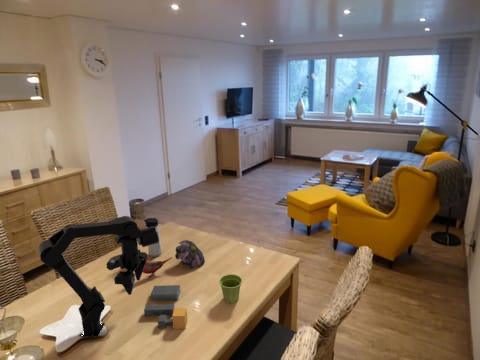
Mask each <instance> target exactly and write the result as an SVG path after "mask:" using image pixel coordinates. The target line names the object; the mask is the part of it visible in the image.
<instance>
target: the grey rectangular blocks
mask: <svg viewBox="0 0 480 360" xmlns="http://www.w3.org/2000/svg"><path fill="white" fill-rule="evenodd" d="M180 294H181V285H179V284H178V285H177V284H176V285H175V284H174V285H172V284H171V285H170V284H169V285H168V284H167V285H154V286H153V288H152V290H151V292H150V300H151V302H152V301H153V302H155V301H179V298H180ZM175 308H176V307H175V304H174V303H172V304H169V303H167V304H166V303H165V304H145V306H144V308H143V313H144V314H143V315H144V317H160V315H167V317H172V315H173V312H174V309H175Z"/></svg>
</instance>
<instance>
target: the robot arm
mask: <svg viewBox="0 0 480 360" xmlns="http://www.w3.org/2000/svg"><path fill="white" fill-rule="evenodd" d="M107 235H114V236H116V237H115V238H114V242H115V243H116V244H120V246H121V254H118V255H115V256H112V257H110V259H108V261H107V262H106V269H107V270H108V271H113V270H115V269H118V268H120V271H118V272H117V274H116V276H115V277H114V278H113V280H114V284H115V285H121V286H122V287H123V288H124V290H125V291H126V293H127V295H130V296H131V295H132V293H133V289H134V285H135V282H136V281H138V282H139V281H140V280H141V277H142V274H143V269H144V267H145V264H146V261H147V260H148V254H147V252H144V251H141V249H139V247H138V246H142V248H145V247H148V246H149V245H153V244H156V243H158V242H159V238H158V235H157V232H156V229H155V227H154V226H151V227H149V228H146V227H145V228H142V229H141V228H139V226H138V224H137V222H136V221H135V220H134V219H133V218H131V217H130V216H128V215H124V216H123V215H122V216H119V217H116V218H114V219H112V220H109V221H99V222H98V221H97V222H88V223H78V224H77V223H75V224H71V223H70V224H66V225H65V226H64V227H63V228H61V230H59V231H57V232H56V233H54V234H52V236H50V237H49V238H48V239H47V240H44V241H42V242H41V243H40V244H39V246H38V255H39V259H40V261H41V262H42V263H43V264H44V265H46V266H47V267H48V268H50V269H53V270H54V271H56V272H57V273H58V274H59V276H61V277H62V279H64V281H65V282H66V283H67V285H69V287H70V288H71V289H72V290H73V292H75V294H76V295H77V296H78V297H79V299H80V300H81V302H82V303H81V305H80V306H79V307H78V312H79V315H80V318H81V324H82V331H84V335H83V334H82V335H83V336H86V337H85V338H92V337H93V338H97V337H99V336H100V334H101V332H102V330H103V329H102V328H104V327H105V322H101V316H102V312H104V309H105V307H106V305H105V301H106V300H105V299H104V296H103V294H102V292H101V291H99V290H98V289H97V287H96V286H95V285H94V286H93V287H92V288H91V287H89V286H88V285H87V283H85V281H84V280H83V279H82V277H81V276H80V275H79V274H78V273H77V271H76V270H74V268H73V267H72V266H71V264H69V262H68V261H67V260H66V258H65V256H64V253H65V252H66V250H67V249H68V247H69V246H70V245H71V243H73V241H74V240H75V239H80V238H90V237H98V236H99V237H100V236H107ZM124 269H125V270H124ZM121 270H124V271H121ZM100 323H101V324H102V325H101V324H100ZM103 326H104V327H103ZM100 331H101V332H100ZM99 333H100V334H99ZM98 335H99V336H98ZM87 336H88V337H87Z"/></svg>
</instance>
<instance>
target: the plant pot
mask: <svg viewBox="0 0 480 360" xmlns="http://www.w3.org/2000/svg"><path fill="white" fill-rule="evenodd" d="M218 282H219V283H218V284H219V285H220V287H221V292H222V296H223V301H224V302H225V303H227V304H233V303H237V302H238V301H239V299H240V291H241V286H242V284H243V278H242V277H241V276H240V275H238V274H235V273H232V274H231V273H229V274H224V275H223V276H221V277H220V278H219V280H218Z"/></svg>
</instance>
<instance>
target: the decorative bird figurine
mask: <svg viewBox="0 0 480 360" xmlns="http://www.w3.org/2000/svg"><path fill="white" fill-rule="evenodd" d="M171 259H173V257H168V258H167V259H164V260H148V261H147V260H146V264H145V267H144V269H143V272H142V274H147V275H148V276H146V278H150V277H152V276H155V275H156V272H157V271H158V270H161V268H162V267H163V266H164V264H165V263H167V262H168V261H170V260H171ZM149 274H150V275H149Z"/></svg>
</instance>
